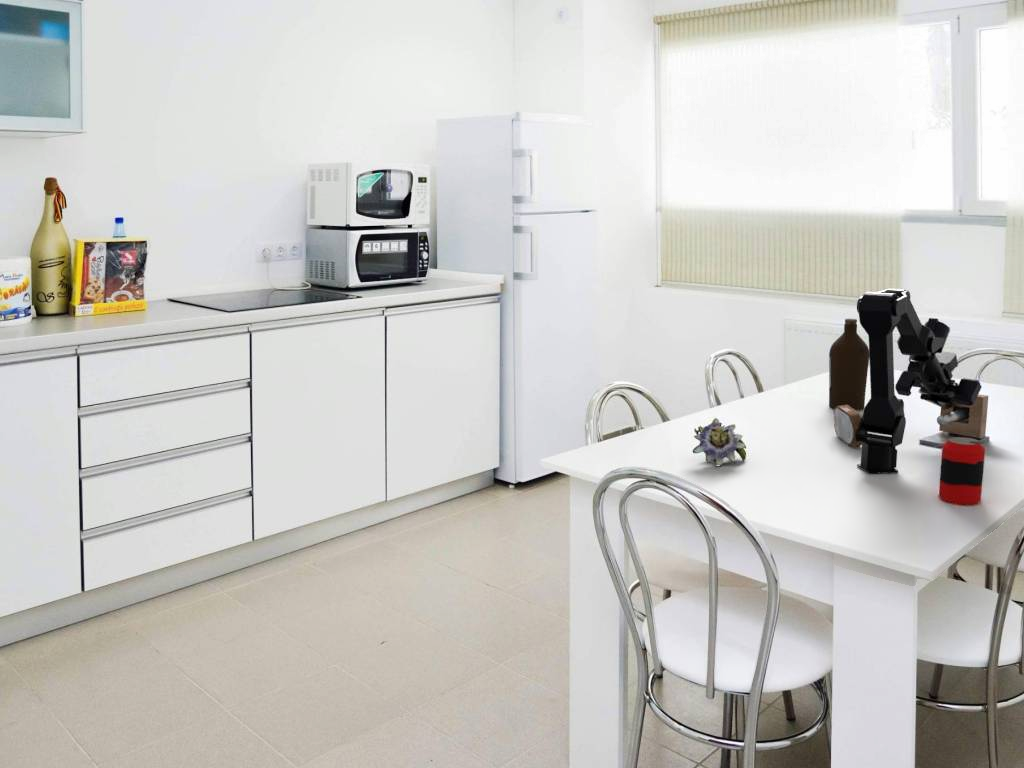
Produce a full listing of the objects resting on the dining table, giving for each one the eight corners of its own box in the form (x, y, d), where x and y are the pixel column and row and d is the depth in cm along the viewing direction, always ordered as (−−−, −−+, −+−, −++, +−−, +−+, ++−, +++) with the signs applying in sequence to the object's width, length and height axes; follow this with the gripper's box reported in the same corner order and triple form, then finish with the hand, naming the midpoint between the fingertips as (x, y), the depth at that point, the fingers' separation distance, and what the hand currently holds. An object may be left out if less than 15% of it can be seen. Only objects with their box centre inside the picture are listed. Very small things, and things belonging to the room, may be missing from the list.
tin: (864, 449, 225) (866, 415, 223) (850, 450, 225) (852, 415, 223) (843, 434, 239) (845, 401, 238) (830, 434, 239) (832, 401, 238)
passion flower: (718, 489, 214) (691, 451, 210) (704, 467, 224) (678, 430, 220) (760, 461, 213) (735, 423, 209) (744, 441, 223) (720, 403, 219)
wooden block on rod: (980, 438, 227) (983, 397, 225) (939, 430, 235) (942, 391, 233) (984, 436, 228) (988, 395, 226) (944, 429, 236) (947, 389, 234)
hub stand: (960, 451, 221) (963, 405, 219) (919, 443, 229) (922, 398, 227) (989, 440, 230) (992, 396, 228) (948, 433, 238) (951, 390, 236)
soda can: (974, 508, 182) (978, 448, 180) (933, 500, 187) (937, 441, 185) (985, 498, 188) (990, 439, 185) (945, 491, 193) (949, 434, 190)
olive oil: (871, 406, 269) (876, 318, 264) (858, 413, 261) (863, 322, 256) (834, 401, 276) (838, 315, 271) (820, 408, 268) (825, 320, 263)
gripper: (981, 346, 218) (999, 386, 227) (904, 338, 232) (924, 376, 241) (962, 384, 215) (981, 424, 224) (885, 374, 229) (906, 411, 238)
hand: (947, 407), depth 232 cm, fingers closed
